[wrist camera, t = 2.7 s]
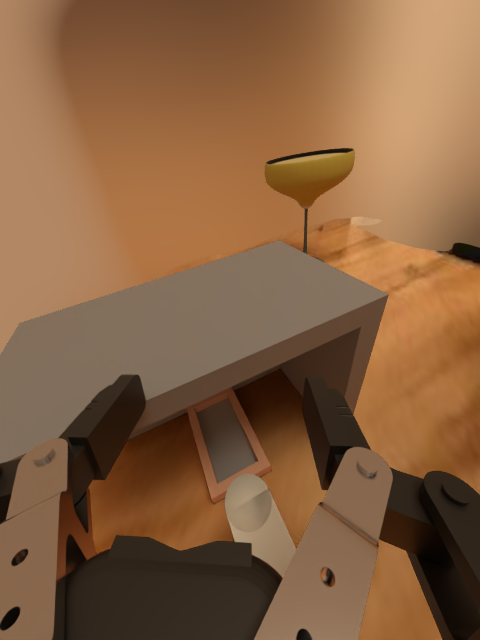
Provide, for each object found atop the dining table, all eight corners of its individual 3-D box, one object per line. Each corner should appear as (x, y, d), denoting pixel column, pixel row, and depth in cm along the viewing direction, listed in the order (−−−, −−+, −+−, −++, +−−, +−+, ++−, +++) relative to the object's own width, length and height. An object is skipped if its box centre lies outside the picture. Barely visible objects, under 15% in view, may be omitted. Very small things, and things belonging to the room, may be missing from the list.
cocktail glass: (312, 247, 72) (317, 149, 57) (356, 268, 58) (377, 146, 43) (260, 264, 68) (250, 163, 53) (293, 290, 55) (293, 165, 39)
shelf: (348, 431, 28) (388, 294, 16) (124, 563, 22) (-91, 504, 10) (284, 356, 39) (279, 240, 27) (122, 430, 33) (19, 323, 21)
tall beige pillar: (321, 631, 17) (341, 646, 10) (288, 659, 17) (282, 697, 9) (269, 510, 24) (257, 465, 16) (243, 527, 23) (218, 487, 15)
